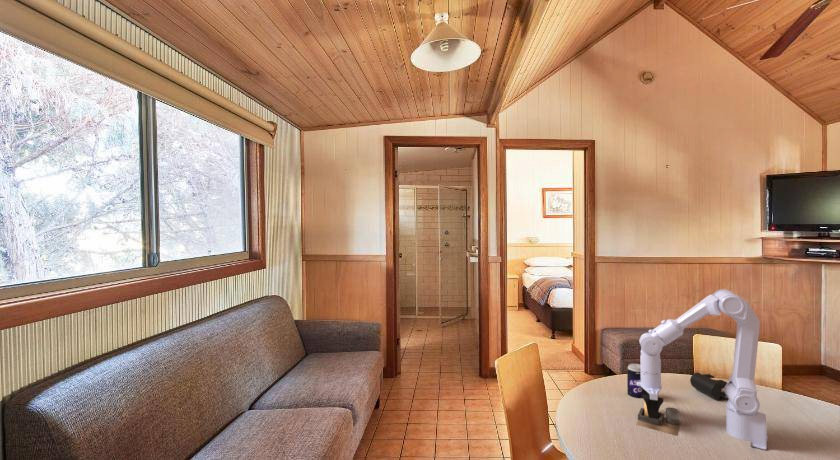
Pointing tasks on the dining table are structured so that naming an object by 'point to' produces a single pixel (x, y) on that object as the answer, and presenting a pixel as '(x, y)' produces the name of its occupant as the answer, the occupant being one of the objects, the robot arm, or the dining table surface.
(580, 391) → the dining table surface
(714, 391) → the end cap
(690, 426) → the dining table surface
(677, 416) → the housing
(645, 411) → the orange capsule
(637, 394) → the beverage can
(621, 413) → the dining table surface
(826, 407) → the dining table surface
